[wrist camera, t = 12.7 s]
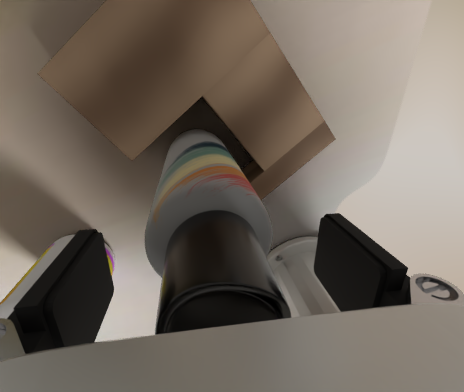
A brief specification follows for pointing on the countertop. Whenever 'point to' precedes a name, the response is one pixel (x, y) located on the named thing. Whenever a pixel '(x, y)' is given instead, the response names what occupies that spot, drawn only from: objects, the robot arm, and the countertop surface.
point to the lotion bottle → (210, 241)
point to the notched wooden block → (190, 80)
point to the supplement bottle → (37, 270)
